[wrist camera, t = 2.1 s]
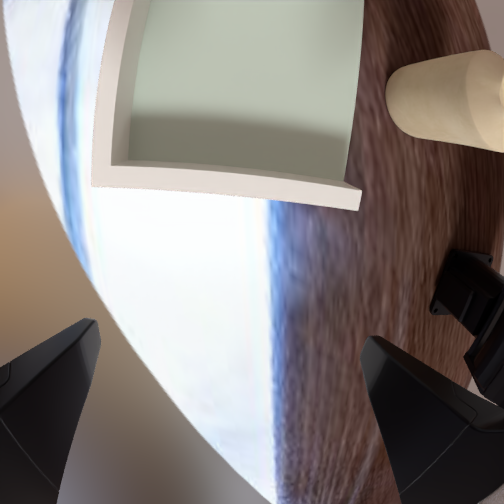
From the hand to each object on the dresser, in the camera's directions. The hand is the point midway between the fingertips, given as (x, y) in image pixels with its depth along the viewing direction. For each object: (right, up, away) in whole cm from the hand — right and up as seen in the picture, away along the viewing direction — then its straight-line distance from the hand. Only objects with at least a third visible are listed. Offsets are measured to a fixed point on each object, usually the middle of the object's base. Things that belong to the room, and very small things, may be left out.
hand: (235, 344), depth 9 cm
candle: (+12, +14, +9) cm, 20 cm away
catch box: (0, +15, +7) cm, 16 cm away
